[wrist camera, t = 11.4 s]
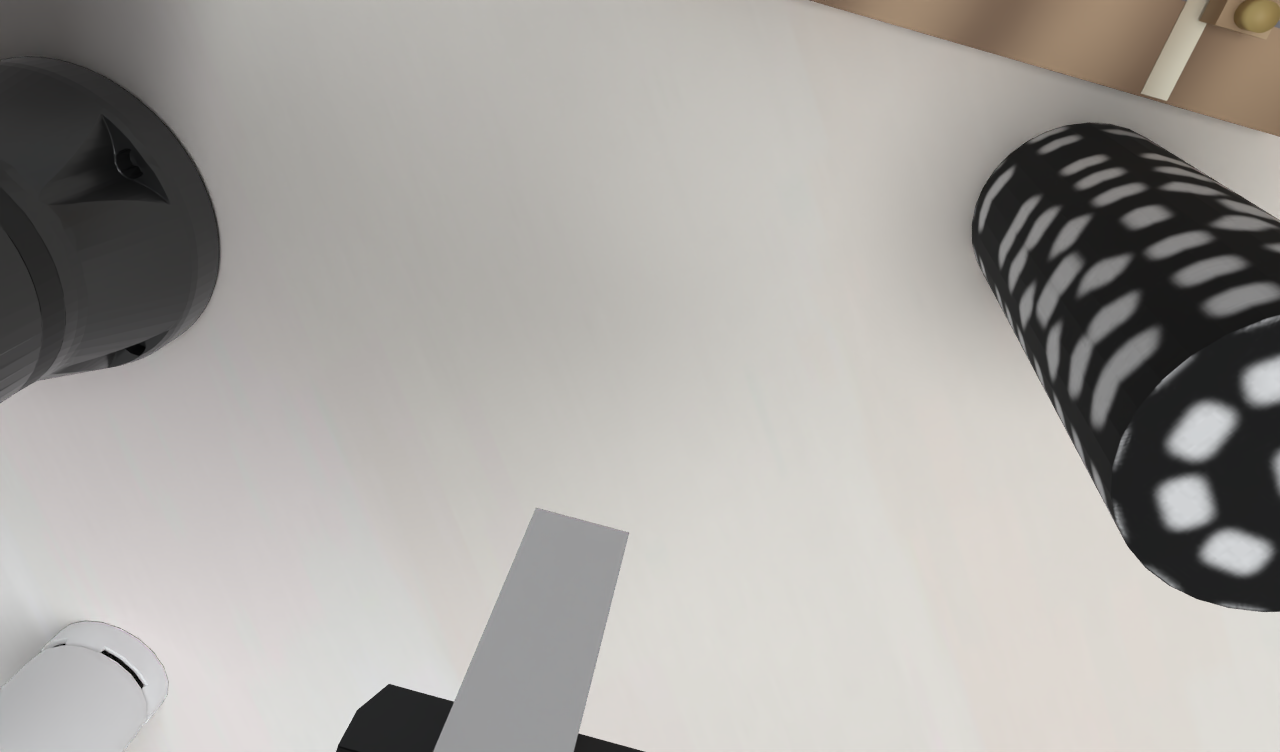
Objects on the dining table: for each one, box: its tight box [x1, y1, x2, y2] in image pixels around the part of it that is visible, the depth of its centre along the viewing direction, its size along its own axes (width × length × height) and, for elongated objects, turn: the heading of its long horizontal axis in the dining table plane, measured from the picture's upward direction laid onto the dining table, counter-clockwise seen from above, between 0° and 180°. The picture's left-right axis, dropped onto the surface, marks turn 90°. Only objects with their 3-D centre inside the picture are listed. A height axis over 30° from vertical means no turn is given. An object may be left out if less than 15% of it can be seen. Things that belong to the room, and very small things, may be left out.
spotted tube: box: [972, 123, 1280, 612], centre depth 30 cm, size 8×8×20 cm
